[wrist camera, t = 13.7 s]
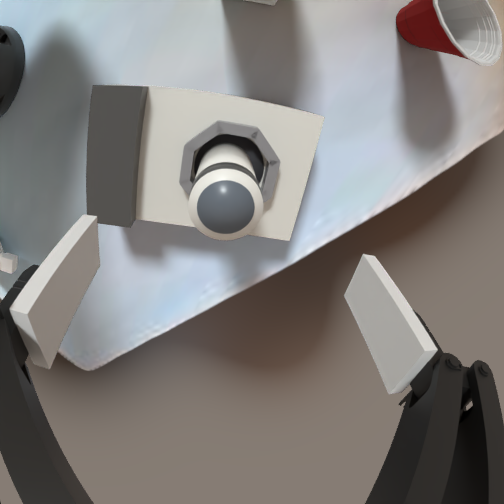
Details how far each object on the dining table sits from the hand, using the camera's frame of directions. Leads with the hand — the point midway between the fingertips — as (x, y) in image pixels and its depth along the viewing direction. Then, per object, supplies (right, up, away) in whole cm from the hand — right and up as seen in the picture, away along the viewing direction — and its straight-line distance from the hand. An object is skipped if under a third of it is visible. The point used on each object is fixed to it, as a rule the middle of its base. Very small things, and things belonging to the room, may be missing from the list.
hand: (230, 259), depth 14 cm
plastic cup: (+22, +29, +11) cm, 38 cm away
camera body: (-5, +12, +19) cm, 23 cm away
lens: (-2, +8, +14) cm, 17 cm away
